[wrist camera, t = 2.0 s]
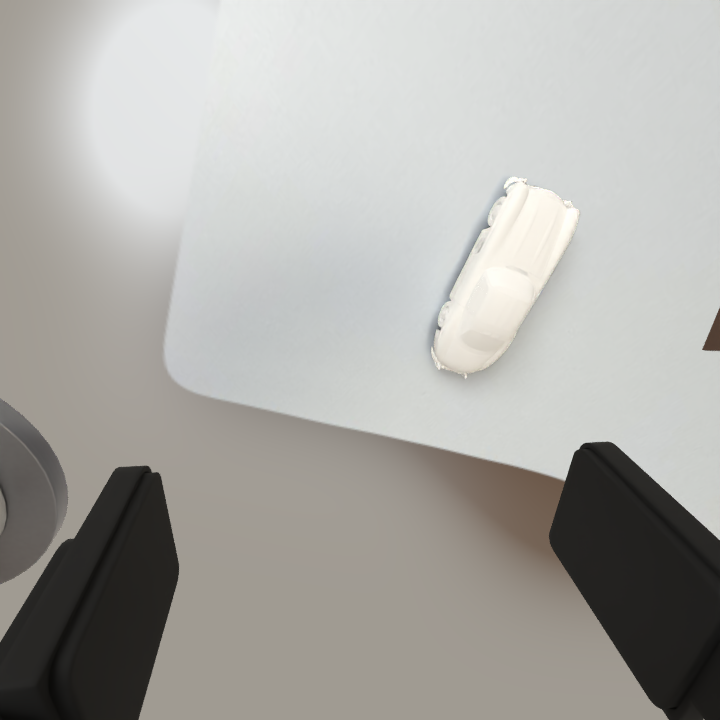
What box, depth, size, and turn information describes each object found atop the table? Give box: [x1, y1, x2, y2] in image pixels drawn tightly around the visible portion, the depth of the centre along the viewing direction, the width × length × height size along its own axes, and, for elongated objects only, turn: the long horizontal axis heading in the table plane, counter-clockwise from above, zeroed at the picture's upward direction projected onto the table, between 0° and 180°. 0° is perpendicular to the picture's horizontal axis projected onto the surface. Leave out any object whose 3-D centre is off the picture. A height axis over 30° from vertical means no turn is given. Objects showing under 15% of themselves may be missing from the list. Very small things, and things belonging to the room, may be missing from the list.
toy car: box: [431, 177, 580, 379], centre depth 25 cm, size 5×12×4 cm, turn 157°
